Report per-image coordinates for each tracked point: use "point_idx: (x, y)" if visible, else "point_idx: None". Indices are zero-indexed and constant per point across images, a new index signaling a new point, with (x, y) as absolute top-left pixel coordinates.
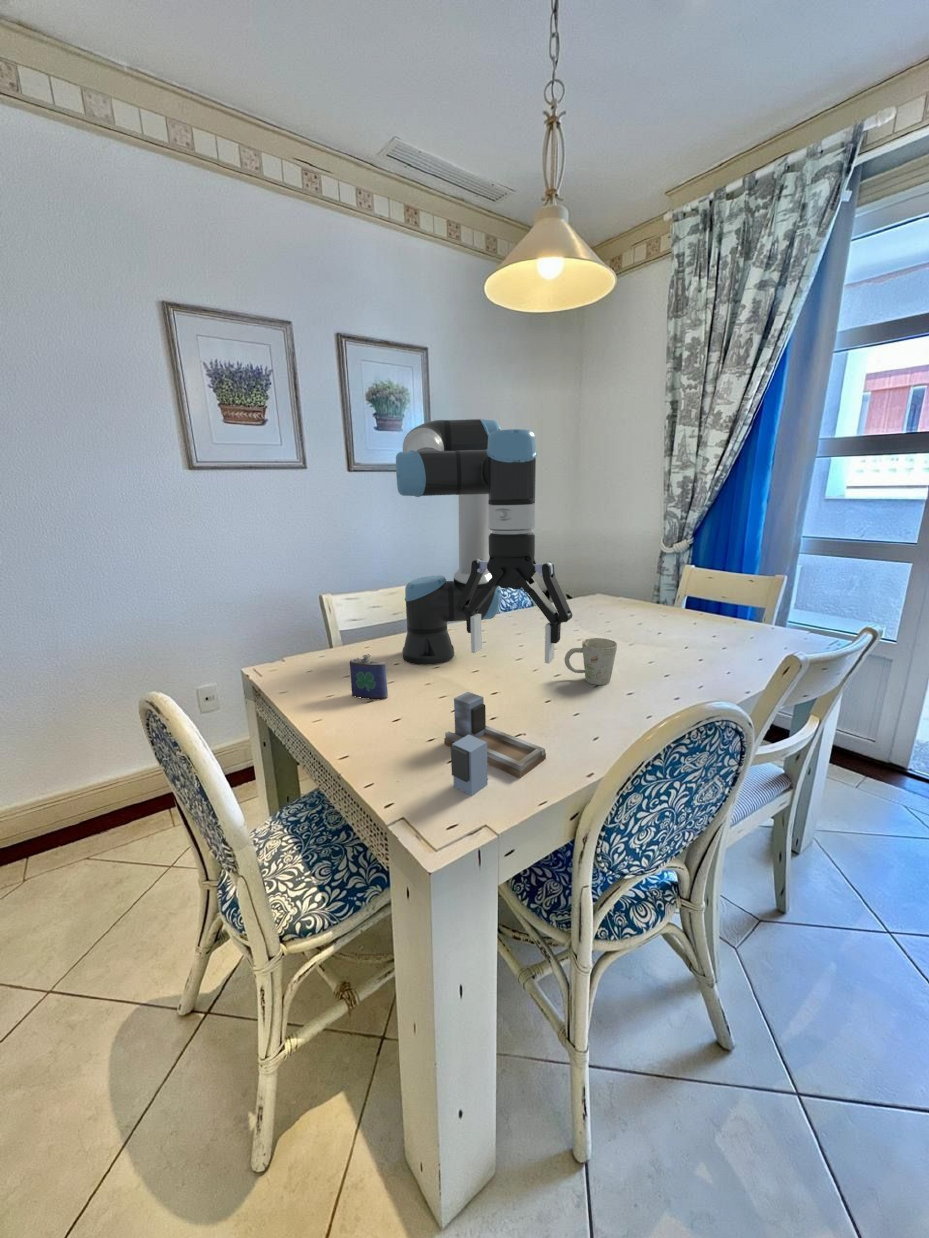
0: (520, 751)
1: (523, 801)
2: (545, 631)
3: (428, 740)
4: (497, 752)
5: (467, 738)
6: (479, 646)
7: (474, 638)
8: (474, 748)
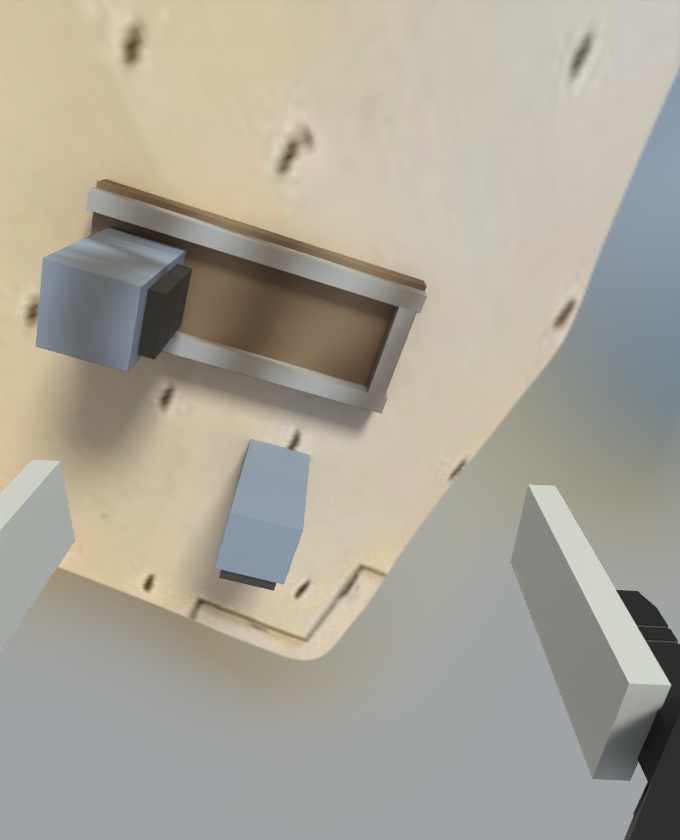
0: (346, 308)
1: (413, 479)
2: (575, 728)
3: (28, 318)
4: (291, 372)
5: (239, 532)
6: (54, 503)
7: (28, 606)
8: (284, 567)
